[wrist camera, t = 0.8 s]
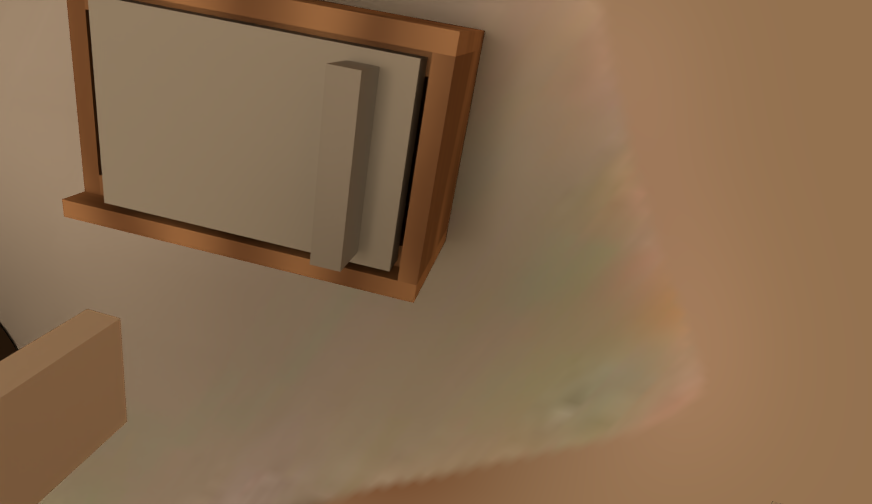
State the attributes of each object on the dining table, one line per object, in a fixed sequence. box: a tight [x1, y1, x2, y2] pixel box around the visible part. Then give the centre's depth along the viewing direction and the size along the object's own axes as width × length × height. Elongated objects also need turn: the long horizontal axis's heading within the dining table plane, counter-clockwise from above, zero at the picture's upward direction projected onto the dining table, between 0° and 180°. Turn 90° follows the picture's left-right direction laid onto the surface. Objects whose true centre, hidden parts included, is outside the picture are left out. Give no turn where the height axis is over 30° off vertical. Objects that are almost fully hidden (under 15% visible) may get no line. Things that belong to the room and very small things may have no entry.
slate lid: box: [88, 0, 428, 272], centre depth 26 cm, size 16×10×4 cm, turn 80°
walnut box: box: [62, 0, 485, 303], centre depth 31 cm, size 20×13×9 cm, turn 80°
